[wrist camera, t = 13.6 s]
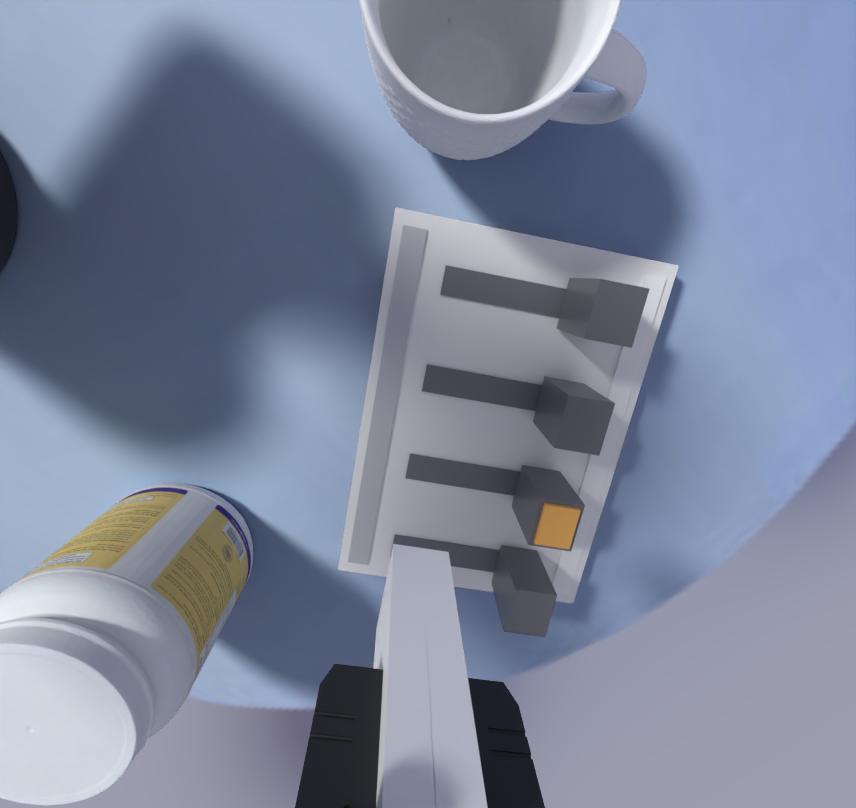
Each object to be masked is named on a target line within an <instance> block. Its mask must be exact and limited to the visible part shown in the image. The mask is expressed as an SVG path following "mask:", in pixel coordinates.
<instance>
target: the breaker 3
mask: <svg viewBox="0 0 856 808" xmlns="http://www.w3.org/2000/svg"><path fill="white" fill-rule="evenodd" d="M584 507H585V504H584V503H583V502H582V500H581V499H580V498H579V496H578V495H577V494H576V492H575V491H574V489H573V488H572V487H571V485H570V484H569V483H568V481H567V480H566V479H565V477H564V476H563V475H562V473H561V472H560V471H556V470H550V469H544V468H538V467H532V466H525V465H522V467H521V471H520V475H519V479H518V483H517V486H516V490H515V494H514V498H513V502H512V508H513V511H514V513H515V515H516V518H517V520H518V523H519V525H520V527H521V530H522V532H523V534H524V537H525V539H526V541H527V544H528V545H532V546H538V547H545V548H551V549H558V550H565V551H571V550H572V547H573V543H574V540H575V537H576V533H577V530H578V527H579V523H580V520H581V517H582V514H583V510H584Z"/></svg>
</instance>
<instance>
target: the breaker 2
mask: <svg viewBox="0 0 856 808" xmlns="http://www.w3.org/2000/svg"><path fill="white" fill-rule="evenodd" d="M614 405H615V403H614V402H612V401H611V400H609V399H607V398H606V397H604V396H603V395H601V394H600V393H598V392H597V391H595V390H593V389H592V388H590V387H589V386H587V385H586V384H584V383H579V382H573V381H568V380H562V379H557V378H551V377H546V376H544V380H543V383H542V387H541V391H540V395H539V399H538V403H537V407H536V411H535V415H534V418H533V423H534V424H535V425H536V426H537V428H538V429H539V430H540V431H541V433H542V434H543V435H544V436H545V438H546V439H547V440H548V441H549V442H550V444H551V445H552V446H553V447H554V448H557V449H563V450H569V451H575V452H581V453H587V454H592V455H598V456H599V455H600V452H601V449H602V445H603V442H604V439H605V435H606V432H607V429H608V425H609V422H610V419H611V415H612V412H613V409H614Z"/></svg>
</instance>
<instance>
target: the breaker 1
mask: <svg viewBox="0 0 856 808" xmlns="http://www.w3.org/2000/svg"><path fill="white" fill-rule="evenodd" d="M648 293H649V288H644V287H639V286H634V285H629V284H624V283H619V282H614V281H609V280H604V279H592V278H570V279H569V282H568V286H567V290H566V294H565V298H564V302H563V306H562V310H561V313H560V317H559V321H558V325H557V329H560V330H562V331H565V332H567V333H570V334H573V335H575V336H578V337H581V338H583V339H588V340H593V341H598V342H604V343H609V344H614V345H620V346H625V347H630V348H632V346H633V342H634V339H635V336H636V332H637V329H638V326H639V322H640V319H641V316H642V313H643V309H644V306H645V303H646V299H647V296H648Z"/></svg>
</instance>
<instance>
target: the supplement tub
mask: <svg viewBox="0 0 856 808" xmlns="http://www.w3.org/2000/svg"><path fill="white" fill-rule="evenodd" d="M252 563H253V543H252V538H251V534H250V531H249V528H248V526H247V524H246V522H245V521H244V519H243V517H242V516H241V515H240V513H239V512H238V511H237V510H236V509H235V508H234V507H233V506H232V505H231V504H230V503H228V502H227V501H226V500H224V499H223V498H221V497H220V496H218V495H216V494H214V493H213V492H210V491H208V490H206V489H203V488H200V487H197V486H193V485H188V484H181V483H163V484H156V485H151V486H147V487H144V488H142V489H139V490H137V491H135V492H132V493H130V494H128V495H127V496H125V497H123V498H122V499H121V500H119V501H118V502H117V503H116V504H115V505H114V506H113V507H111V508H110V509H109V510H108V511H106V512H105V513H104V514H103V515H102V516H100V517H99V518H98V519H97V520H95V521H94V522H93V523H91V524H90V525H89V526H88V527H86V528H85V529H84V530H83V531H81V532H80V533H79V534H78V535H76V536H75V537H74V538H72V539H71V540H70V541H69V542H67V543H66V544H65V545H64V546H62V547H61V548H60V549H59V550H57V551H56V552H55V553H53V554H52V555H51V556H50V557H48V558H47V559H46V560H44V561H43V562H42V563H41V564H39V565H38V566H37V567H35V568H34V569H33V570H32V571H30V572H29V573H28V574H26V575H25V576H24V577H23V578H21V579H20V580H19V581H17V582H16V583H15V584H13V585H11V586H10V587H9V588H7V589H6V590H4V591H3V592H2V593H1V594H0V798H3V799H6V800H10V801H14V802H20V803H24V804H34V805H57V804H67V803H73V802H76V801H81V800H84V799H87V798H89V797H92V796H94V795H96V794H98V793H100V792H102V791H104V790H106V789H107V788H109V787H110V786H112V785H113V784H114V783H115V782H116V781H117V780H118V779H119V778H120V777H121V776H122V775H123V774H124V773H125V771H126V770H127V769H128V767H129V765H130V764H131V762H132V761H133V759H134V758H135V756H136V755H137V754H138V753H139V751H140V750H141V749H142V748H143V746H144V745H145V743H146V741H147V740H148V738H149V737H151V736H152V735H154V734H155V733H156V732H158V731H159V730H160V729H161V728H162V727H164V725H166V724H167V723H168V722H169V721H170V720H171V719H172V718H173V716H174V715H175V713H176V712H177V711H178V710H179V708H180V707H181V705H182V704H183V703H184V701H185V700H186V698H187V697H188V695H189V692H190V690H191V688H192V685H193V683H194V682H195V680H196V678H197V676H198V674H199V672H200V670H201V668H202V666H203V664H204V662H205V661H206V659H207V657H208V655H209V653H210V651H211V649H212V647H213V645H214V643H215V642H216V640H217V638H218V636H219V634H220V632H221V630H222V628H223V626H224V624H225V622H226V621H227V619H228V617H229V615H230V613H231V611H232V609H233V607H234V605H235V603H236V601H237V599H238V597H239V596H240V594H241V592H242V590H243V588H244V587H245V585H246V583H247V581H248V579H249V576H250V574H251V569H252Z"/></svg>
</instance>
